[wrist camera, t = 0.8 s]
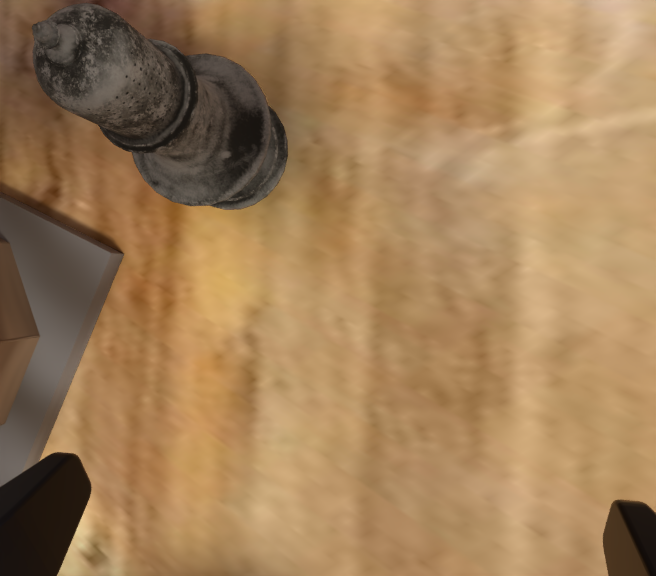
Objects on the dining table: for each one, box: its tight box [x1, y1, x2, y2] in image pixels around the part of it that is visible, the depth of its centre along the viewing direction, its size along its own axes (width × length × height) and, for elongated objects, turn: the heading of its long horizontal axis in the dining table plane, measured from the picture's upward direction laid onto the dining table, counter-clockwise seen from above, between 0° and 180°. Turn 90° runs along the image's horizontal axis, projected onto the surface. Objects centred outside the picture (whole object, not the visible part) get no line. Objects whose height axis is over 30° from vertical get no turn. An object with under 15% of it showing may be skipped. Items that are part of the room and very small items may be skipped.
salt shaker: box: [32, 3, 288, 210], centre depth 18 cm, size 6×6×12 cm
